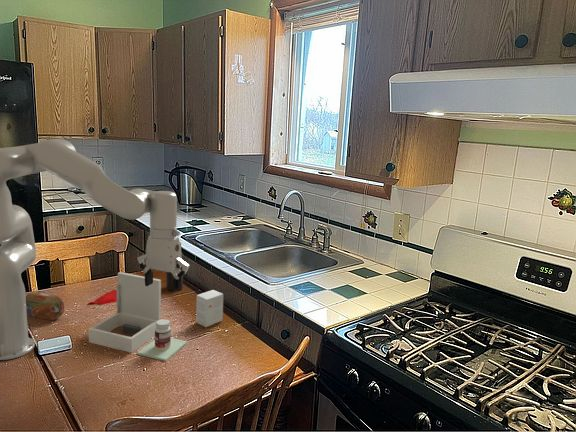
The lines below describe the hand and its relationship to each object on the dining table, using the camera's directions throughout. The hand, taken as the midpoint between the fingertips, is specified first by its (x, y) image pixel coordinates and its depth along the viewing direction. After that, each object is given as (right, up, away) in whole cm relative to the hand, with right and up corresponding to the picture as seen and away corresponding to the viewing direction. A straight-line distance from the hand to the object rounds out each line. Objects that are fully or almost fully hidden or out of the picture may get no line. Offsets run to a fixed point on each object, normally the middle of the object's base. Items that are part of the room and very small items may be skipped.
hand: (162, 287), depth 133 cm
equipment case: (-15, -18, +9) cm, 25 cm away
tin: (-47, -14, +20) cm, 53 cm away
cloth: (-30, -11, +42) cm, 52 cm away
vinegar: (-10, -9, +53) cm, 55 cm away
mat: (-1, -20, +4) cm, 20 cm away
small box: (+10, -17, +24) cm, 31 cm away
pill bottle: (-1, -19, +4) cm, 20 cm away
